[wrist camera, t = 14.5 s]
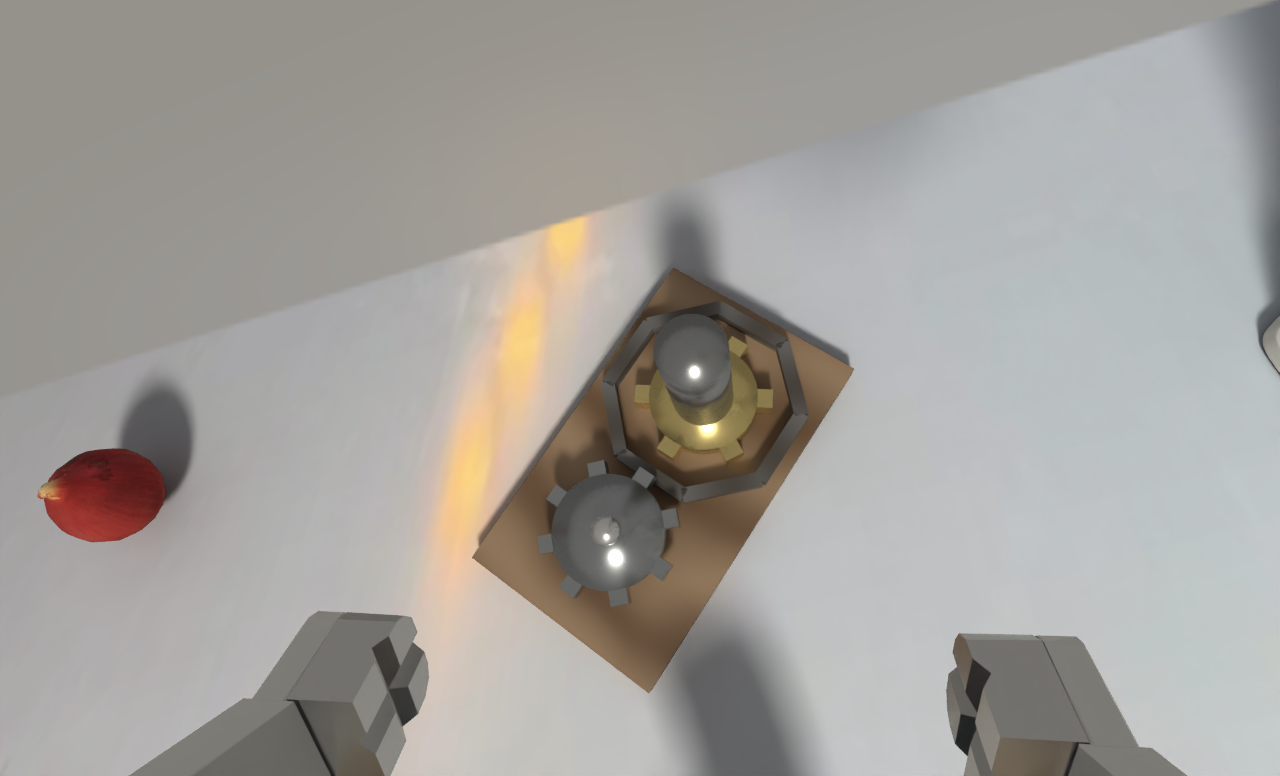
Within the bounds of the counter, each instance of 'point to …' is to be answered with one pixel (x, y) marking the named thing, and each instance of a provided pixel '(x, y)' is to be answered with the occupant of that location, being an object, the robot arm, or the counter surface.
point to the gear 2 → (701, 389)
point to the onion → (104, 495)
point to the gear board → (665, 481)
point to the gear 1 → (609, 533)
